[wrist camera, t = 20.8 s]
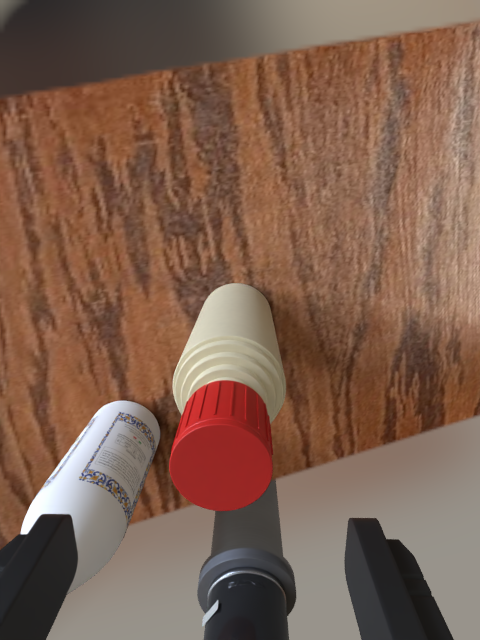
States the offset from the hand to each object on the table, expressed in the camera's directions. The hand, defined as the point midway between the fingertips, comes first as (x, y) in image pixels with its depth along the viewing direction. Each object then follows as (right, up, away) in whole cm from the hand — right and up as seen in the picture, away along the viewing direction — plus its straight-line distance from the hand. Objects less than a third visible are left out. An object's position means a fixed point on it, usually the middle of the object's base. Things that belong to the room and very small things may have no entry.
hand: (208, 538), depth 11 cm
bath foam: (-10, -5, +28) cm, 30 cm away
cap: (0, +2, +8) cm, 8 cm away
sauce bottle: (+1, +7, +24) cm, 25 cm away
